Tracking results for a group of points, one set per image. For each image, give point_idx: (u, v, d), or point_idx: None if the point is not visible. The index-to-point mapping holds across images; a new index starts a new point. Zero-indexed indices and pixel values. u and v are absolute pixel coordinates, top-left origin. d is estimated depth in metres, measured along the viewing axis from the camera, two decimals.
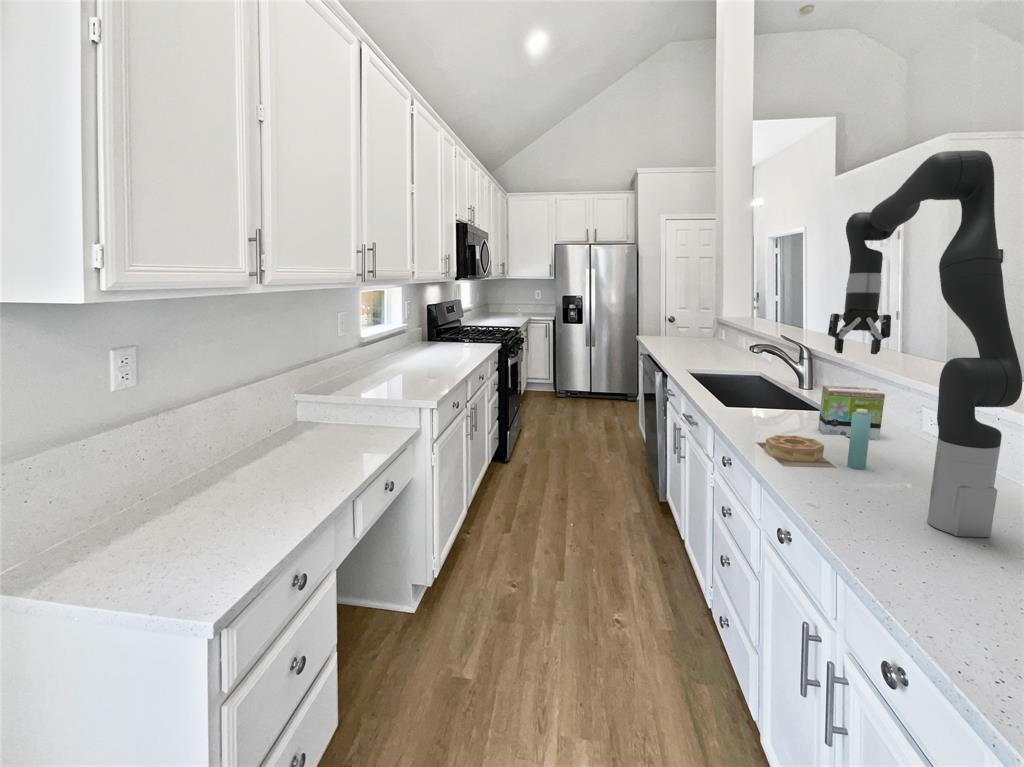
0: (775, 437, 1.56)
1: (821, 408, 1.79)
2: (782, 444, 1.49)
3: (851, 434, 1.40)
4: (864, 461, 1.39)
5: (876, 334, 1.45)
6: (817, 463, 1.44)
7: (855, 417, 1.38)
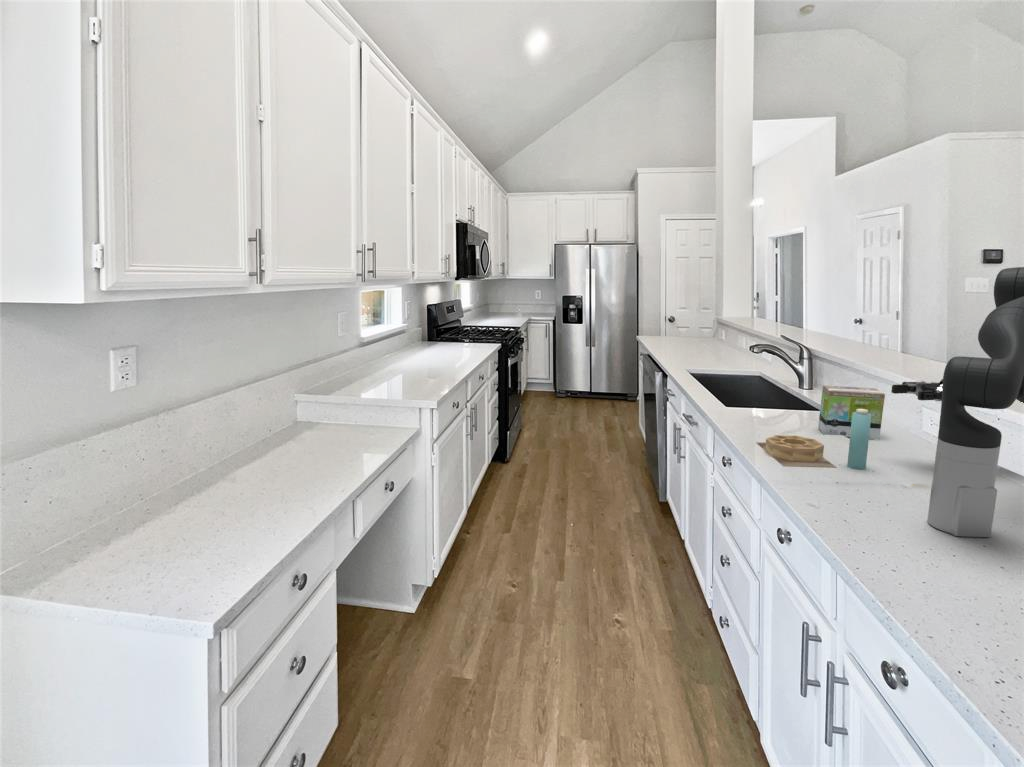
0: (775, 437, 1.56)
1: (821, 408, 1.79)
2: (782, 444, 1.49)
3: (851, 434, 1.40)
4: (864, 461, 1.39)
5: (938, 389, 1.35)
6: (817, 463, 1.44)
7: (855, 417, 1.38)
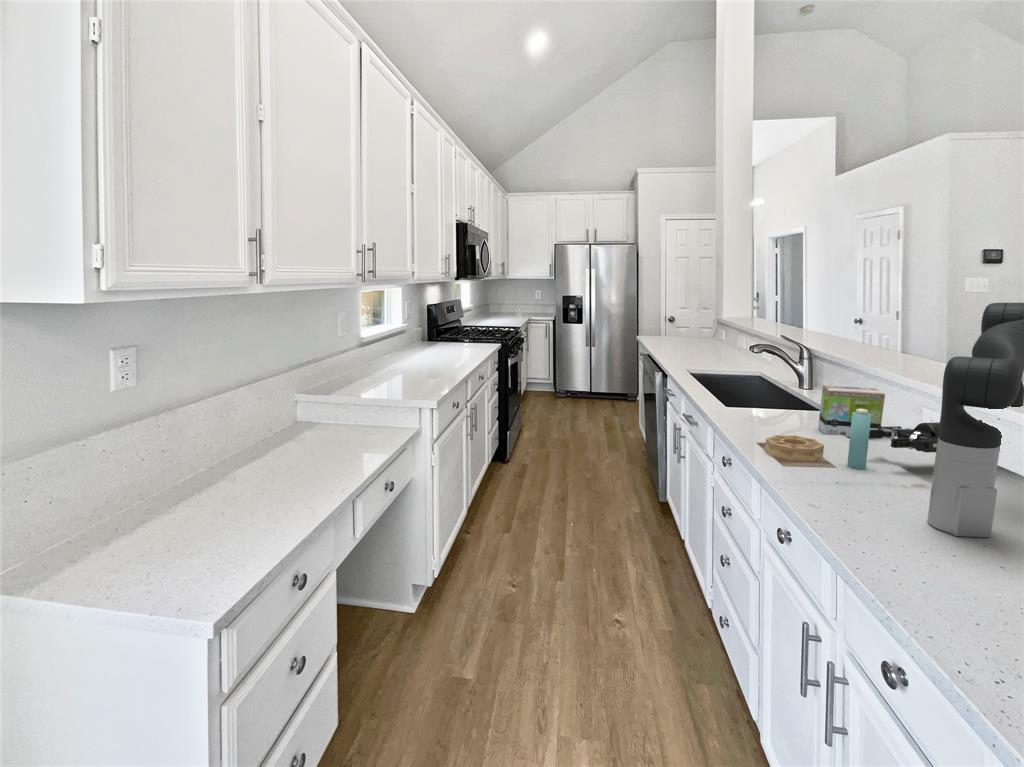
0: (775, 437, 1.56)
1: (821, 408, 1.79)
2: (782, 444, 1.49)
3: (851, 434, 1.40)
4: (864, 461, 1.39)
5: (911, 437, 1.36)
6: (817, 463, 1.44)
7: (855, 417, 1.38)
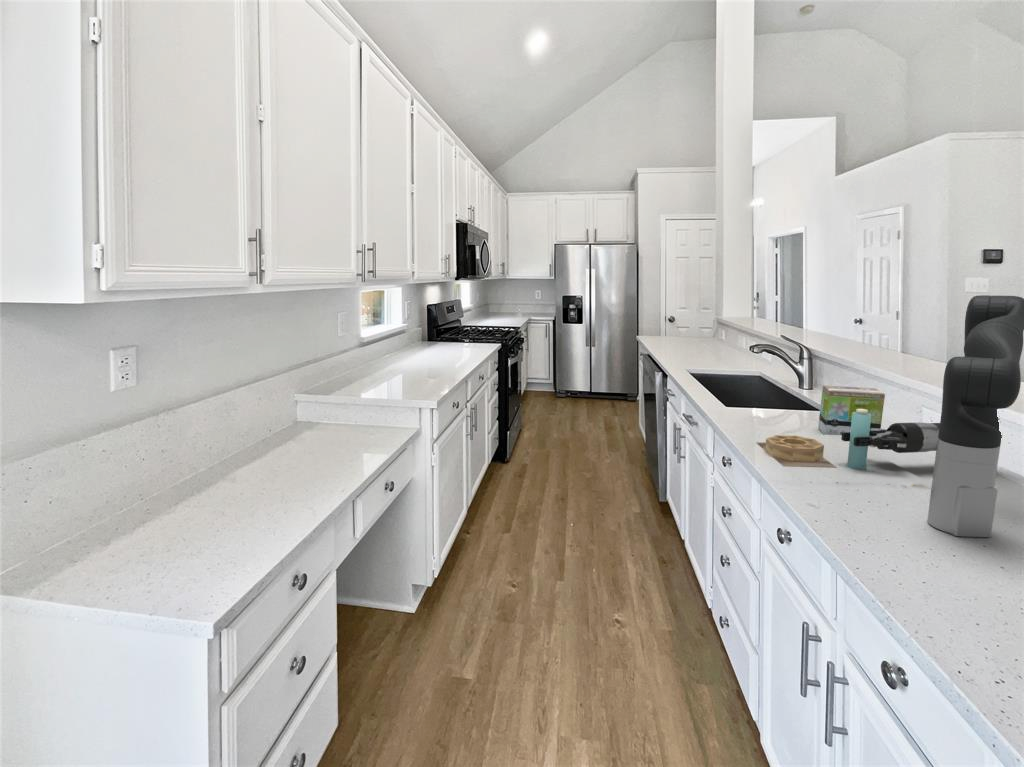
0: (775, 437, 1.56)
1: (821, 408, 1.79)
2: (782, 444, 1.49)
3: (851, 434, 1.40)
4: (864, 461, 1.39)
5: (876, 436, 1.37)
6: (817, 463, 1.44)
7: (855, 417, 1.38)
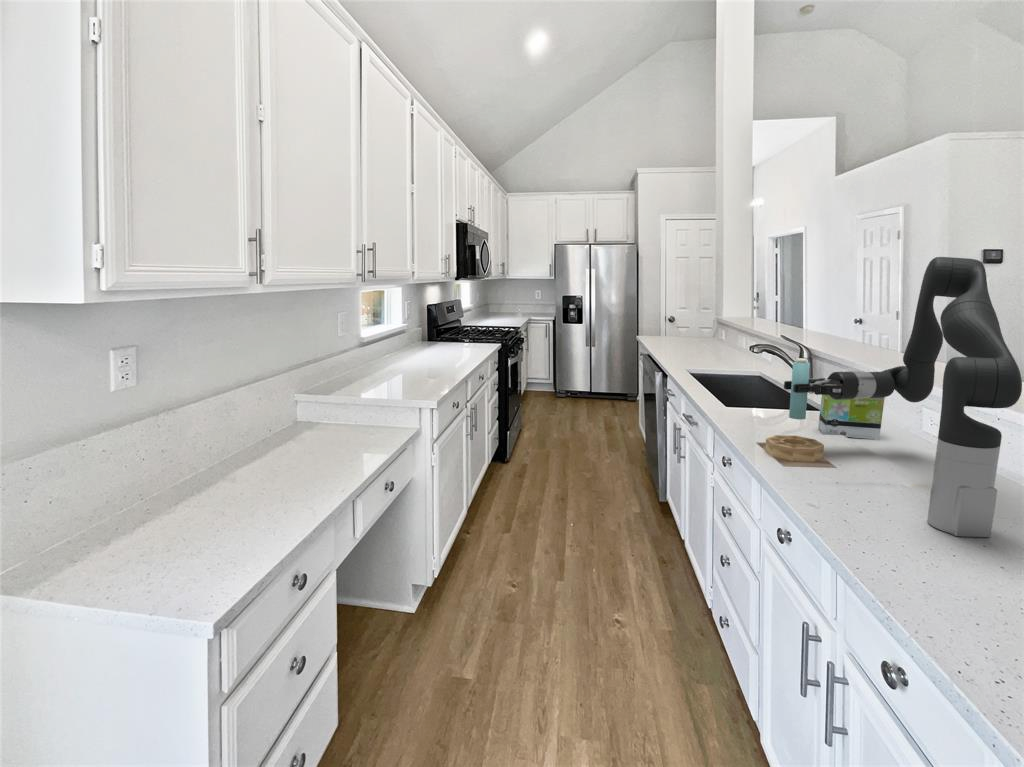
0: (775, 437, 1.56)
1: (821, 408, 1.79)
2: (782, 444, 1.49)
3: (792, 382, 1.49)
4: (804, 407, 1.48)
5: (814, 383, 1.47)
6: (817, 463, 1.44)
7: (795, 365, 1.47)
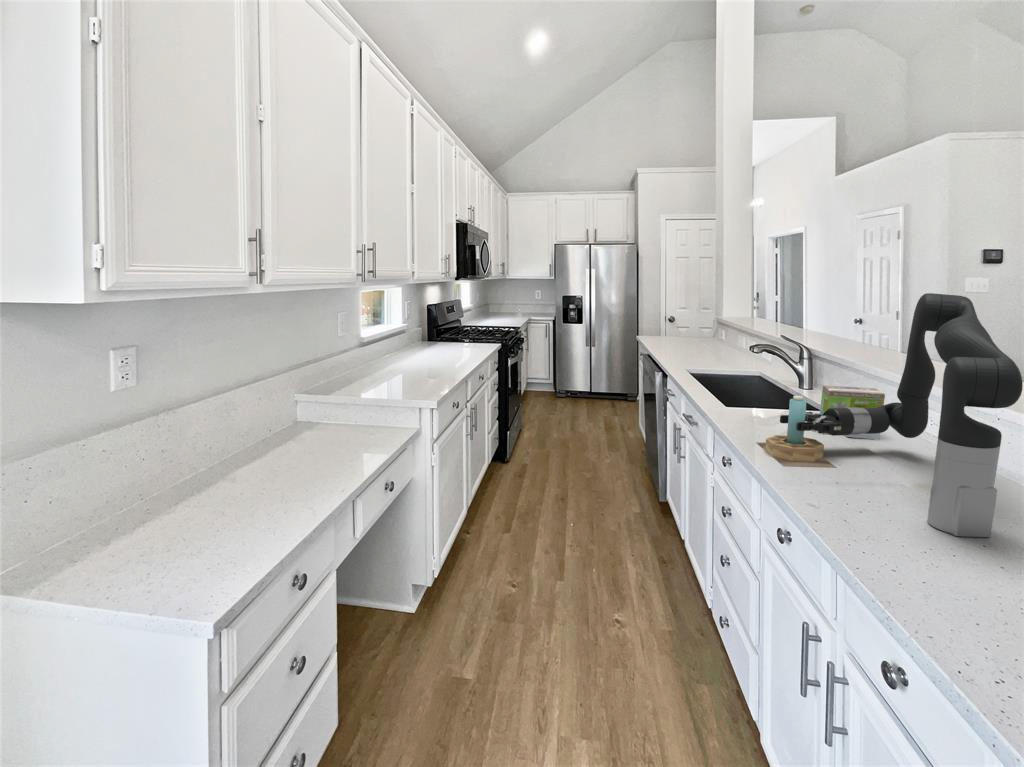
0: (775, 437, 1.56)
1: (821, 408, 1.79)
2: (782, 444, 1.49)
3: (789, 419, 1.50)
4: (800, 444, 1.50)
5: (815, 421, 1.47)
6: (817, 463, 1.44)
7: (792, 403, 1.49)
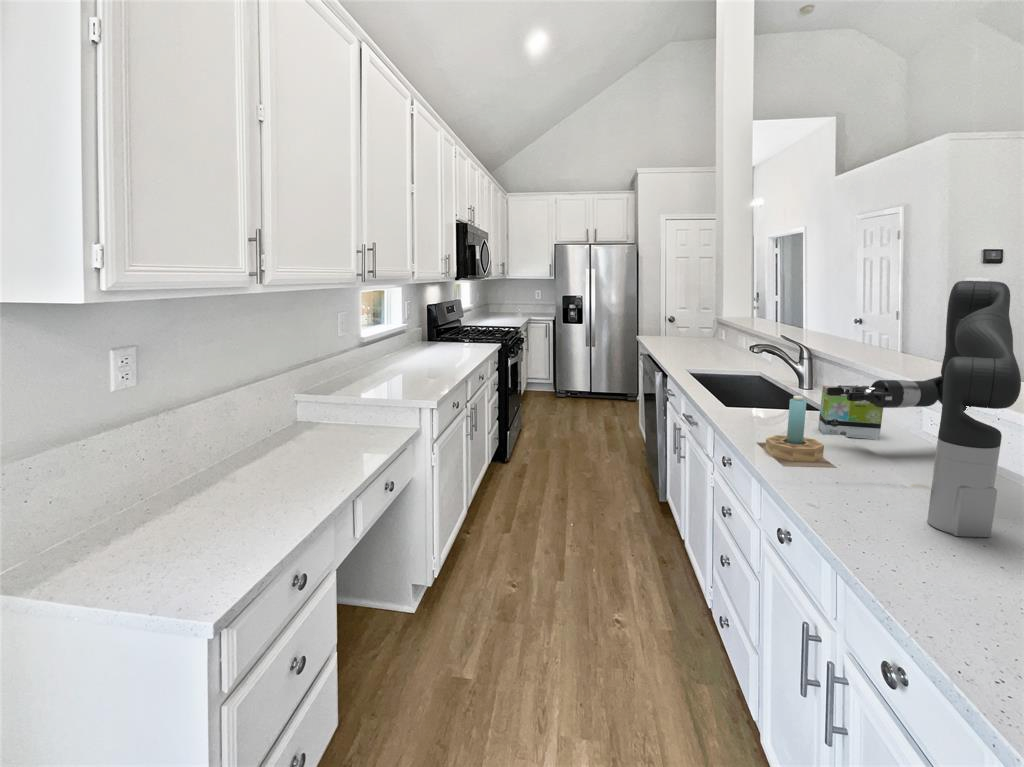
0: (775, 437, 1.56)
1: (821, 408, 1.79)
2: (782, 444, 1.49)
3: (789, 419, 1.50)
4: (800, 444, 1.50)
5: (866, 391, 1.46)
6: (817, 463, 1.44)
7: (792, 403, 1.49)
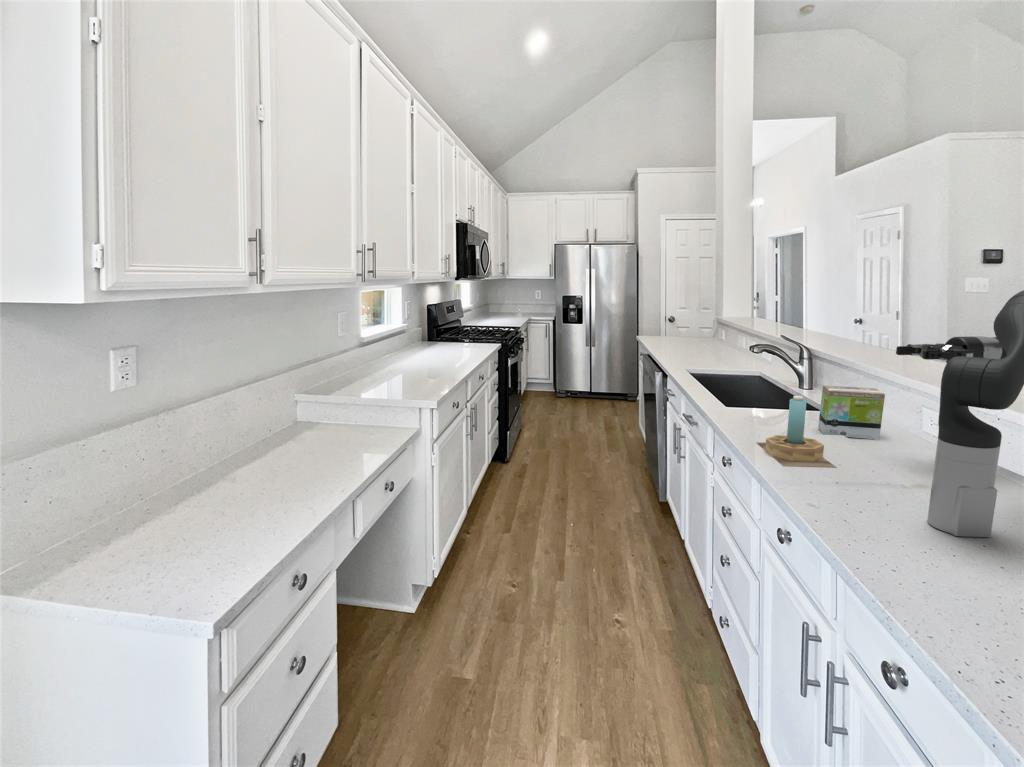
0: (775, 437, 1.56)
1: (821, 408, 1.79)
2: (782, 444, 1.49)
3: (789, 419, 1.50)
4: (800, 444, 1.50)
5: (943, 349, 1.34)
6: (817, 463, 1.44)
7: (792, 403, 1.49)
